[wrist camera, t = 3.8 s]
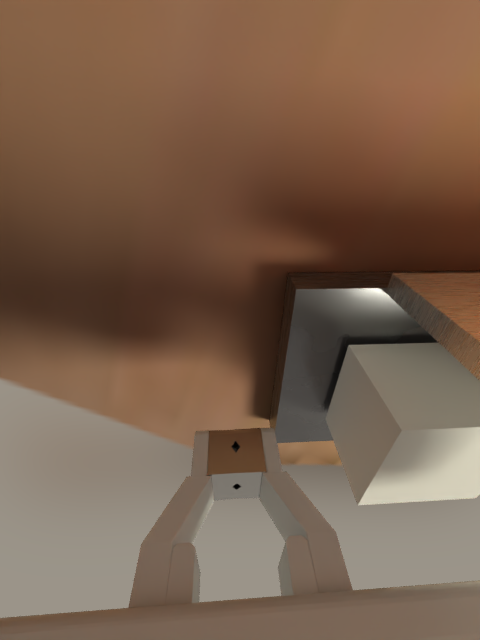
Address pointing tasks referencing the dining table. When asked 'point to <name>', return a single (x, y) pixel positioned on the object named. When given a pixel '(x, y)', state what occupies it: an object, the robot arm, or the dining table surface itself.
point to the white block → (406, 424)
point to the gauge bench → (362, 333)
